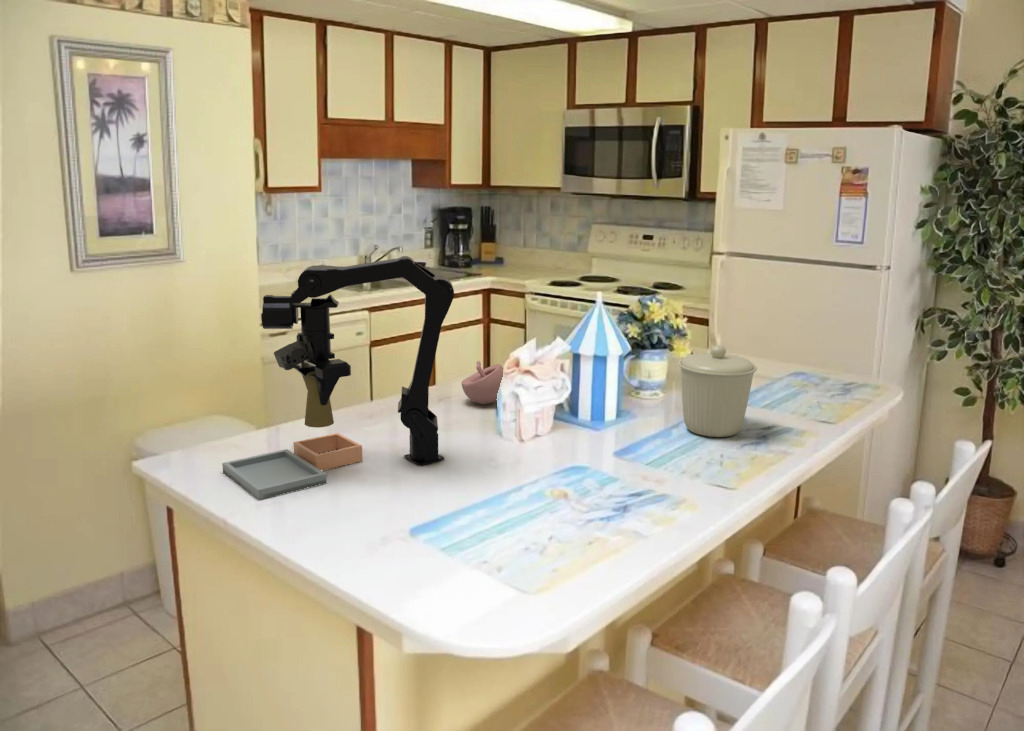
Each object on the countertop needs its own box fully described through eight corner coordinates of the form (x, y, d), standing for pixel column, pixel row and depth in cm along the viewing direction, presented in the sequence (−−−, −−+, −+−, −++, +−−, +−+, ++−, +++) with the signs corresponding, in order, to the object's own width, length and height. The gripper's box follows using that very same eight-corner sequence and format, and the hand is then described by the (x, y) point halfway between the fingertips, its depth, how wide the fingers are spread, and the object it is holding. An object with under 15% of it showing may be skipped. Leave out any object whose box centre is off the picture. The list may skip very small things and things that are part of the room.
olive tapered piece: (318, 416, 182) (317, 367, 179) (340, 421, 179) (338, 371, 176) (298, 424, 177) (295, 372, 174) (319, 429, 174) (317, 377, 171)
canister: (716, 448, 192) (723, 357, 187) (658, 427, 206) (663, 342, 201) (767, 434, 202) (775, 348, 197) (708, 415, 217) (714, 334, 211)
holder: (362, 461, 181) (362, 445, 180) (316, 472, 174) (316, 456, 173) (338, 447, 189) (338, 432, 188) (294, 457, 182) (293, 442, 181)
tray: (326, 483, 168) (326, 473, 168) (258, 500, 160) (258, 490, 159) (287, 458, 182) (286, 449, 181) (222, 472, 173) (222, 463, 173)
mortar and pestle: (463, 396, 230) (463, 355, 227) (508, 397, 230) (508, 356, 227) (459, 409, 218) (459, 366, 216) (505, 410, 218) (506, 367, 215)
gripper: (259, 325, 175) (263, 398, 179) (298, 341, 161) (301, 420, 165) (309, 319, 182) (312, 390, 186) (351, 334, 168) (353, 410, 172)
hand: (318, 402), depth 177 cm, fingers closed on olive tapered piece, 4 cm apart
